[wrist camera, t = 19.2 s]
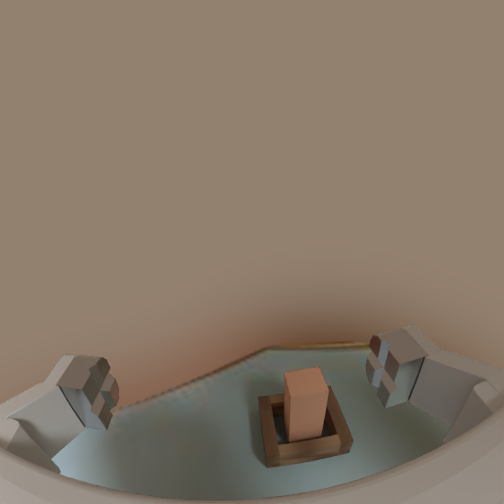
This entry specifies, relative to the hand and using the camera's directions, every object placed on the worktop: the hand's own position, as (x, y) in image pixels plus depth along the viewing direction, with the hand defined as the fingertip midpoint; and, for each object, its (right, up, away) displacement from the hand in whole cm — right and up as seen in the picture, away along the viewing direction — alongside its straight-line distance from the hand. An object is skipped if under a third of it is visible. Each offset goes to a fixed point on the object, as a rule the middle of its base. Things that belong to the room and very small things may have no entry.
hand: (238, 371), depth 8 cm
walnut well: (+7, -20, +22) cm, 31 cm away
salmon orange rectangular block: (+7, -20, +22) cm, 31 cm away
